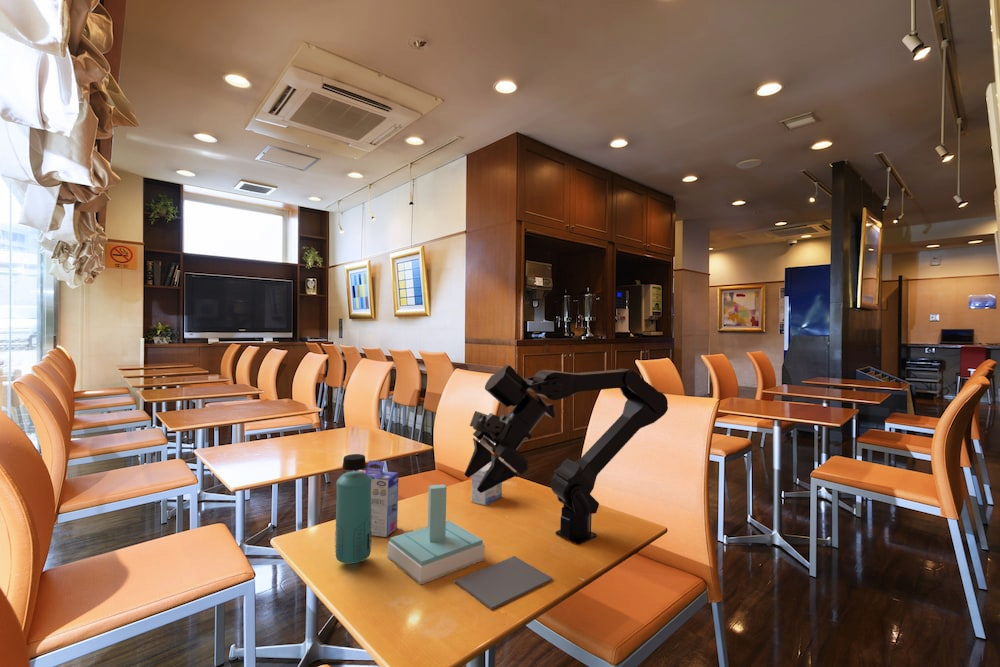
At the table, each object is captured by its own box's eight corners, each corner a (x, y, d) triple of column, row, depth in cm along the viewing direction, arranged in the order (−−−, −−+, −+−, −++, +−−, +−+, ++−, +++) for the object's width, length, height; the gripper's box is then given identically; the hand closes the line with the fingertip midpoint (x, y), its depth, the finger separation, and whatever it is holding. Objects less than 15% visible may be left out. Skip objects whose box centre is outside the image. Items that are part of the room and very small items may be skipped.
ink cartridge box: (398, 527, 102) (400, 461, 102) (387, 538, 97) (389, 468, 96) (357, 522, 104) (358, 457, 104) (344, 533, 99) (345, 465, 98)
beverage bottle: (371, 569, 84) (374, 459, 84) (332, 574, 82) (335, 461, 82) (371, 552, 90) (373, 450, 90) (334, 556, 88) (336, 451, 88)
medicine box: (485, 506, 115) (485, 471, 115) (470, 502, 118) (471, 468, 118) (502, 497, 122) (503, 464, 122) (488, 493, 124) (489, 461, 124)
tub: (448, 537, 98) (449, 523, 98) (484, 559, 88) (484, 544, 88) (387, 557, 88) (387, 541, 88) (420, 584, 79) (420, 567, 79)
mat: (514, 558, 89) (514, 556, 89) (552, 580, 82) (552, 577, 82) (454, 582, 80) (454, 580, 80) (491, 610, 73) (491, 607, 73)
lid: (448, 524, 97) (449, 472, 97) (482, 544, 88) (483, 487, 88) (390, 542, 88) (391, 485, 88) (421, 566, 80) (422, 503, 80)
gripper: (479, 390, 102) (432, 447, 99) (509, 404, 84) (453, 474, 81) (515, 421, 105) (470, 477, 102) (550, 441, 87) (498, 510, 84)
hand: (472, 483), depth 92 cm, fingers open, 9 cm apart
